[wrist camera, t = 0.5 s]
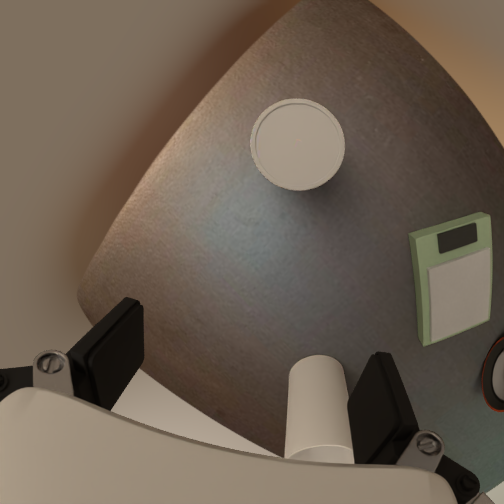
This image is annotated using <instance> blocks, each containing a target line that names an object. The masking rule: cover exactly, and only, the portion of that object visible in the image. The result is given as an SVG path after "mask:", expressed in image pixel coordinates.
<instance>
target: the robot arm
mask: <svg viewBox="0 0 504 504" xmlns="http://www.w3.org/2000/svg"><path fill="white" fill-rule="evenodd" d="M143 360H144V323H143V306H142V305H140V302H139V301H138V300H135V299H132V298H128V297H125V298H124V299H123V300H122V301H121V302H120V303H119V304H118V305H117V306H115V307H114V308H113V309H112V310H111V311H110V312H109V313H108V314H107V315H106V316H105V317H104V318H103V319H102V320H101V321H100V322H98V323H97V324H96V325H95V326H94V327H93V328H92V329H91V330H90V331H89V332H88V333H87V334H86V335H85V336H84V337H83V338H81V339H80V340H79V341H78V342H77V343H76V344H75V346H73V347H72V348H71V349H70V350H69V351H68V352H67V353H66V354H64V353H62V352H61V351H57V350H47V351H44V352H41V353H40V354H38V355H37V356H36V357H35V359H34V362H33V366H26V367H17V368H8V369H0V504H494V502H492V500H491V499H490V498H489V497H488V496H487V495H486V494H485V493H484V492H482V493H481V494H480V493H479V489H480V483H479V480H478V478H477V477H476V475H475V474H473V473H472V472H471V471H469V470H467V469H466V468H464V467H462V466H461V465H459V464H458V463H456V462H454V461H453V460H451V459H450V458H448V457H447V456H445V455H443V453H444V450H445V445H444V442H443V440H442V438H441V437H440V436H439V435H438V434H436V433H435V432H433V431H430V430H419V427H418V423H417V420H416V417H415V415H414V412H413V409H412V406H411V404H410V401H409V398H408V395H407V393H406V390H405V388H404V385H403V382H402V380H401V377H400V375H399V372H398V370H397V367H396V365H395V362H394V360H393V358H392V355H391V354H390V353H386V352H376V353H375V355H374V354H373V355H371V356H370V358H369V360H368V362H367V364H366V367H365V369H364V371H363V373H362V375H361V377H360V379H359V381H358V382H357V384H356V386H355V388H354V390H353V392H352V394H351V396H350V398H349V400H348V402H347V411H348V418H349V425H350V432H351V439H352V447H353V455H354V464H344V463H327V462H314V461H304V460H295V459H287V458H280V457H273V456H266V455H260V454H255V453H249V452H244V451H239V450H234V449H229V448H225V447H220V446H216V445H212V444H208V443H204V442H200V441H197V440H193V439H189V438H186V437H182V436H178V435H175V434H172V433H169V432H166V431H163V430H160V429H157V428H154V427H151V426H148V425H145V424H142V423H140V422H137V421H134V420H132V419H129V418H126V417H124V416H121V415H118V414H116V413H114V412H111V409H112V408H113V406H114V404H115V403H116V402H117V400H118V399H119V397H120V396H121V394H122V392H123V391H124V389H125V388H126V387H127V385H128V384H129V382H130V380H131V379H132V378H133V376H134V375H135V373H136V372H137V370H138V369H139V367H140V366H141V364H142V363H143Z"/></svg>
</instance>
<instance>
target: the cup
mask: <svg viewBox="0 0 504 504" xmlns="http://www.w3.org/2000/svg"><path fill="white" fill-rule="evenodd" d="M348 400H349V397H348V392H347V386H346V381H345V375H344V370H343V367H342V365H341V364H340V363H339V362H338V361H337V360H336V359H334V358H332V357H330V356H326V355H313V356H309V357H306V358H303V359H301V360H300V361H298V362H297V363H296V364H295V365H294V366H293V367H292V369H291V370H290V373H289V389H288V409H287V427H286V443H285V458H287V459H295V460H304V461H314V462H327V463H344V464H354V455H353V447H352V439H351V432H350V425H349V418H348V411H347V402H348Z"/></svg>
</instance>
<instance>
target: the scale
mask: <svg viewBox="0 0 504 504" xmlns="http://www.w3.org/2000/svg"><path fill="white" fill-rule="evenodd" d="M408 236H409V243H410V250H411V257H412V265H413V274H414V283H415V294H416V307H417V325H418V338H419V340H420V342H421V343H422V345H423V347H424V346H427V345H430V344H432V343H435V342H438V341H440V340H443V339H446V338H448V337H451V336H453V335H456V334H458V333H461V332H463V331H466V330H468V329H470V328H473V327H475V326H477V325H480V324H482V323H484V322H486V321H488V320H490V310H491V296H492V234H491V219H490V215H488V214H485V213H483V212H478V213H475V214H471V215H468V216H465V217H462V218H458V219H455V220H452V221H448V222H445V223H442V224H438V225H435V226H432V227H428V228H425V229H422V230H418V231H415V232H411V233H408Z"/></svg>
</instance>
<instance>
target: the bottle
mask: <svg viewBox="0 0 504 504" xmlns="http://www.w3.org/2000/svg"><path fill="white" fill-rule="evenodd" d="M250 140H251V142H250V145H251V147H250V150H251V155H252V156H253V160H254V162H255V165H256V166H257V168H258V169H259V170H260V173H262V174H263V176H264V177H266V178H267V180H269V181H271V183H274V184H276V186H279V187H281V188H286V189H287V190H288V189H290V190H292V191H293V190H296V191H299V190H301V191H304V190H309V189H314V188H315V187H319V186H320V185H323V183H325V182H327V181H328V180H329V179H331V178H332V176H334V175H335V173H336V172H337V171H338V168H339V167H340V166H341V163H342V160H343V158H344V153H345V140H344V135H343V131H342V129H341V126H340V125H339V123H338V121H337V120H336V118H335V117H334V116H333V115H332V113H331V112H329V111H328V110H327V109H326V108H324V107H323V106H321V105H319V104H318V103H315V102H313V101H309V100H305V99H298V98H297V99H286V100H282V101H280V102H277V103H275V104H274V105H271V106H270V107H268V108H267V109H266V110H265V111H263V113H262V114H261V115H260V117H259V118H258V119H257V121H256V123H255V124H254V127H253V130H252V132H251V137H250Z"/></svg>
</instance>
